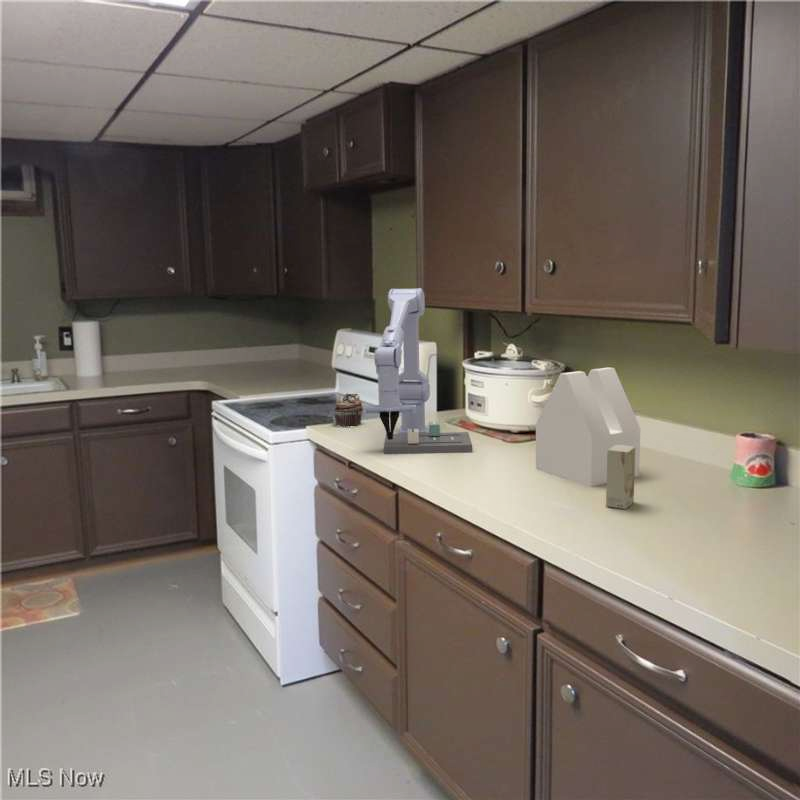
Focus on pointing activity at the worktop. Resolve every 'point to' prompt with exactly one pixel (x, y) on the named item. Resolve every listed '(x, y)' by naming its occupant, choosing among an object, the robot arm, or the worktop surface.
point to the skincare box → (620, 476)
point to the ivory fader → (413, 436)
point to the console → (429, 443)
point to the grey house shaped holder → (585, 426)
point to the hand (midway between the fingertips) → (390, 438)
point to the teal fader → (434, 429)
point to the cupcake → (348, 410)
